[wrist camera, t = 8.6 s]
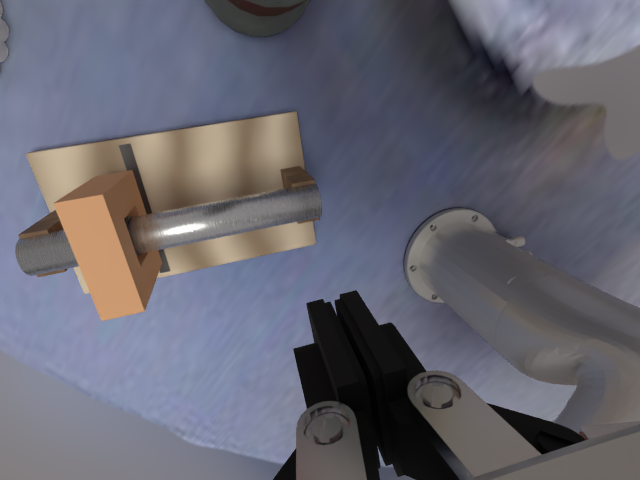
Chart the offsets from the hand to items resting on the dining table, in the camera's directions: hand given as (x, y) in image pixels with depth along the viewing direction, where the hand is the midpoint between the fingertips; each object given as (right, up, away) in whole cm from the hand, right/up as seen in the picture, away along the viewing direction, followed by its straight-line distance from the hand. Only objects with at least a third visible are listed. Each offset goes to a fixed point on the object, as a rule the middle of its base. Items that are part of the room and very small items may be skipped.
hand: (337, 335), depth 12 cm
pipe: (-12, +5, +20) cm, 24 cm away
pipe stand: (-14, +7, +27) cm, 31 cm away
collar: (-18, +5, +22) cm, 29 cm away
